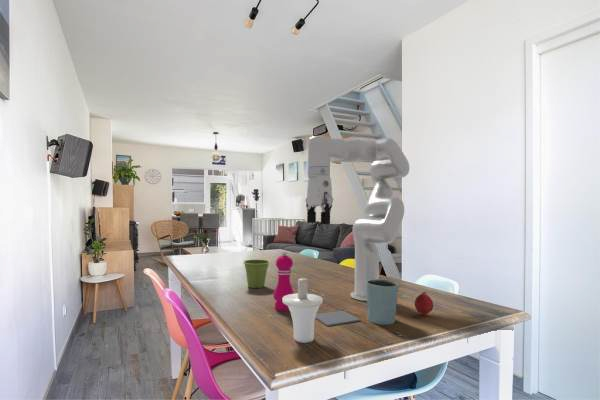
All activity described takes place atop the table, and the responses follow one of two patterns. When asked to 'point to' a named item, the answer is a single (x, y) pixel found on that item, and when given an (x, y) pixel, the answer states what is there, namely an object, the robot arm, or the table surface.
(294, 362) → the table surface
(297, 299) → the lid
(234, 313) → the table surface
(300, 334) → the cup
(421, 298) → the onion
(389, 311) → the blue round container
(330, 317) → the mat
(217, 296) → the table surface
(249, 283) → the plant pot
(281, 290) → the pepper mill
